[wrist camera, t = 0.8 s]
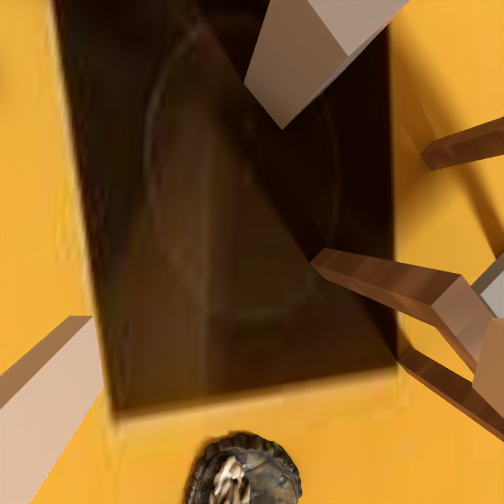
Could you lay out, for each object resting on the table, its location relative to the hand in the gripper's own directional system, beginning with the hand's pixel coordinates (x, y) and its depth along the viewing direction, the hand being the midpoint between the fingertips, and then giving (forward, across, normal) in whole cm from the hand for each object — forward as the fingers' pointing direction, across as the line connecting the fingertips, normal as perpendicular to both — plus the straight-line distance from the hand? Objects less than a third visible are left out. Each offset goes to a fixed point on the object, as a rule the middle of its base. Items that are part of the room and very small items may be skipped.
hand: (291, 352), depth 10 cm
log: (+13, -2, -24) cm, 28 cm away
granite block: (+20, +2, +12) cm, 24 cm away
